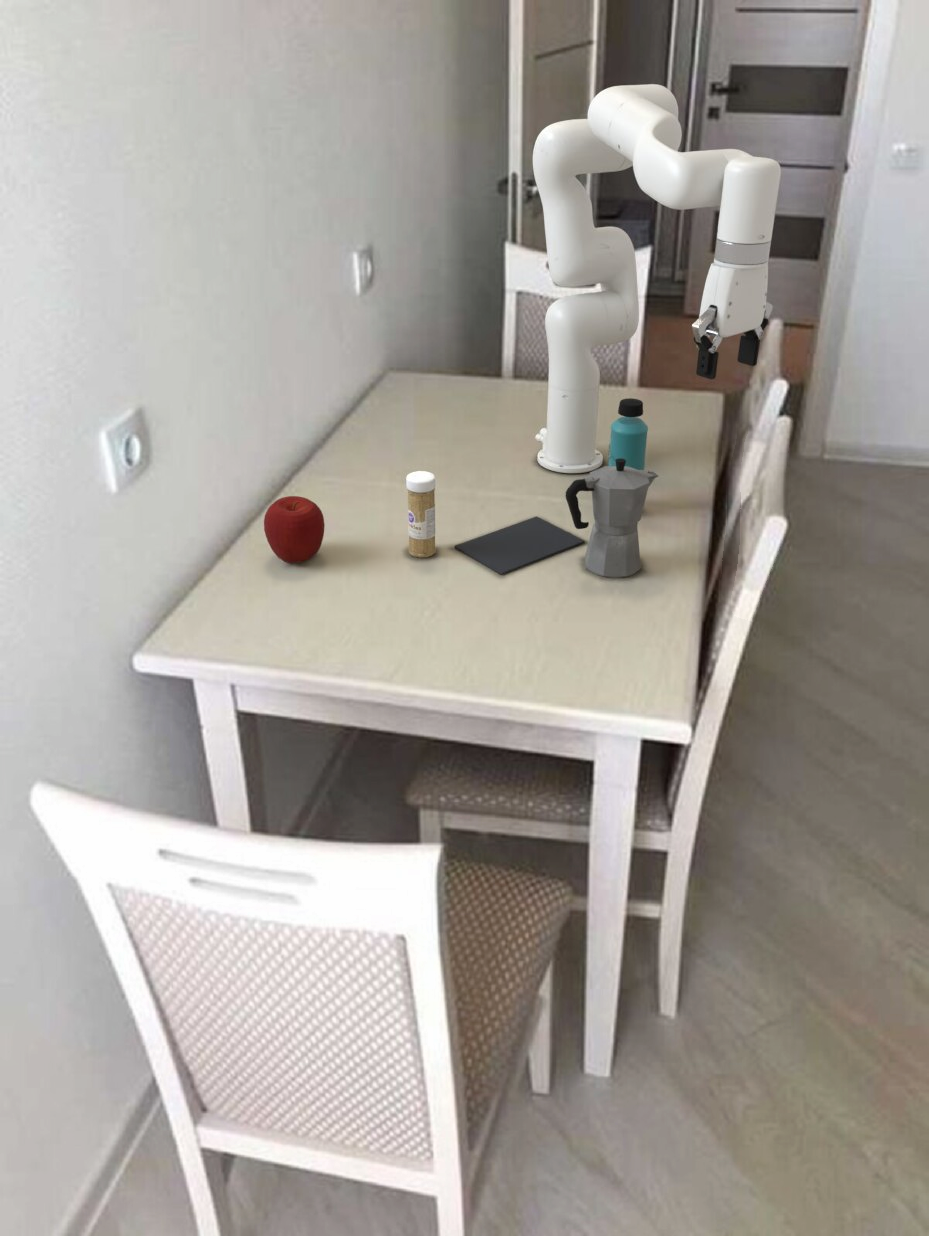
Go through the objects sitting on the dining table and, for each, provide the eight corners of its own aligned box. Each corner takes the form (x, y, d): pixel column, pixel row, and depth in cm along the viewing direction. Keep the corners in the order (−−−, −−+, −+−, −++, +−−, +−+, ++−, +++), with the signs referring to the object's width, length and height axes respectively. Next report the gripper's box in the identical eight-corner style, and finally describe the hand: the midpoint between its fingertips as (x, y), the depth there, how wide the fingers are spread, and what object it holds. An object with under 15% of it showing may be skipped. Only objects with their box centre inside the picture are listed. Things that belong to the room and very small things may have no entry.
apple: (278, 577, 165) (272, 518, 160) (259, 552, 172) (253, 495, 167) (335, 563, 169) (331, 506, 164) (314, 539, 176) (309, 484, 171)
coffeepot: (635, 545, 174) (644, 442, 165) (663, 571, 166) (675, 464, 157) (549, 560, 170) (554, 455, 160) (574, 587, 162) (581, 478, 153)
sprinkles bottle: (402, 553, 172) (400, 476, 165) (421, 543, 175) (419, 467, 168) (423, 561, 169) (421, 483, 162) (442, 551, 172) (441, 474, 165)
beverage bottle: (644, 505, 188) (654, 396, 177) (637, 520, 182) (647, 409, 172) (608, 500, 189) (616, 392, 179) (600, 515, 184) (608, 404, 174)
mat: (454, 547, 173) (454, 545, 173) (536, 518, 183) (536, 516, 183) (501, 575, 165) (501, 573, 165) (584, 542, 175) (585, 540, 175)
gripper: (757, 239, 157) (742, 353, 166) (681, 256, 148) (669, 375, 157) (800, 248, 152) (782, 364, 161) (724, 266, 143) (709, 388, 152)
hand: (726, 370), depth 159 cm, fingers open, 9 cm apart
